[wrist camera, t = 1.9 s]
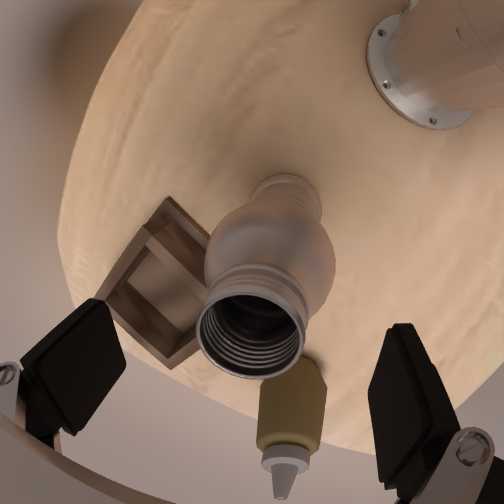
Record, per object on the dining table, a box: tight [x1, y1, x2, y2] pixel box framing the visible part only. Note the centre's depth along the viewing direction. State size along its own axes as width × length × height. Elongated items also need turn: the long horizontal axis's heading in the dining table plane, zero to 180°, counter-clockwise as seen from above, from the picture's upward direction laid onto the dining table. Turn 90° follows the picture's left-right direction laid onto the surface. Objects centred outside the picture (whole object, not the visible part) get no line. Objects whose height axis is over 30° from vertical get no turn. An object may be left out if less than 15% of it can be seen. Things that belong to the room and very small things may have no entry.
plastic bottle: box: [196, 174, 336, 379], centre depth 18 cm, size 6×7×20 cm
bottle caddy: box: [94, 197, 210, 370], centre depth 30 cm, size 14×14×6 cm
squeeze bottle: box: [256, 356, 327, 500], centre depth 26 cm, size 8×8×18 cm
